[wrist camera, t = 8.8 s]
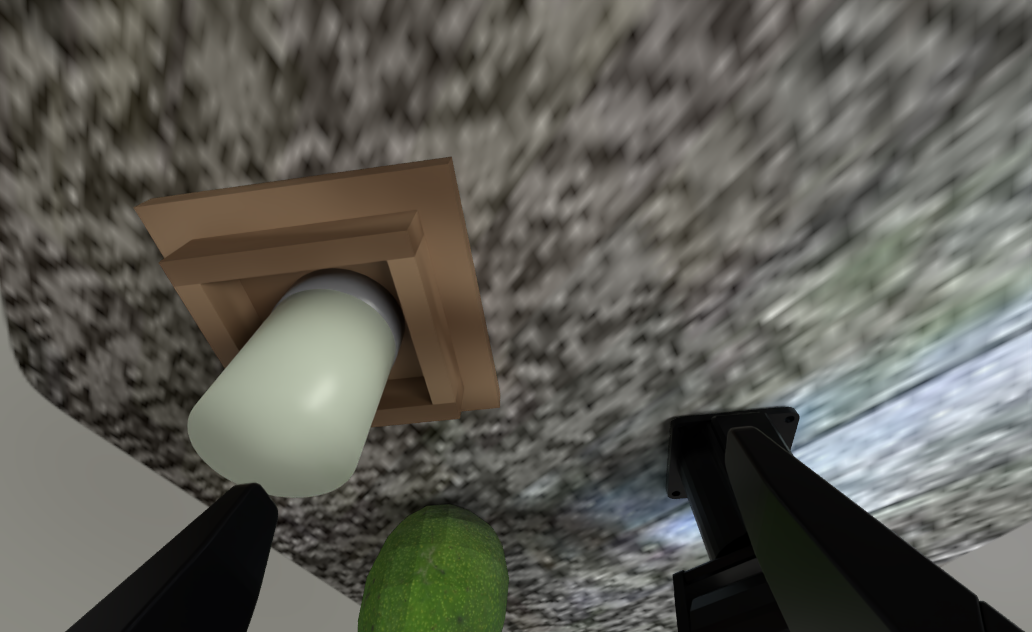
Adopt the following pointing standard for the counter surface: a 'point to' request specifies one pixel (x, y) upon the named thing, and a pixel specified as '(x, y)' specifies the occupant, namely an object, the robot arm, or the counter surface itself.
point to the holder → (346, 245)
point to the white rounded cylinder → (303, 387)
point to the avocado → (437, 576)
